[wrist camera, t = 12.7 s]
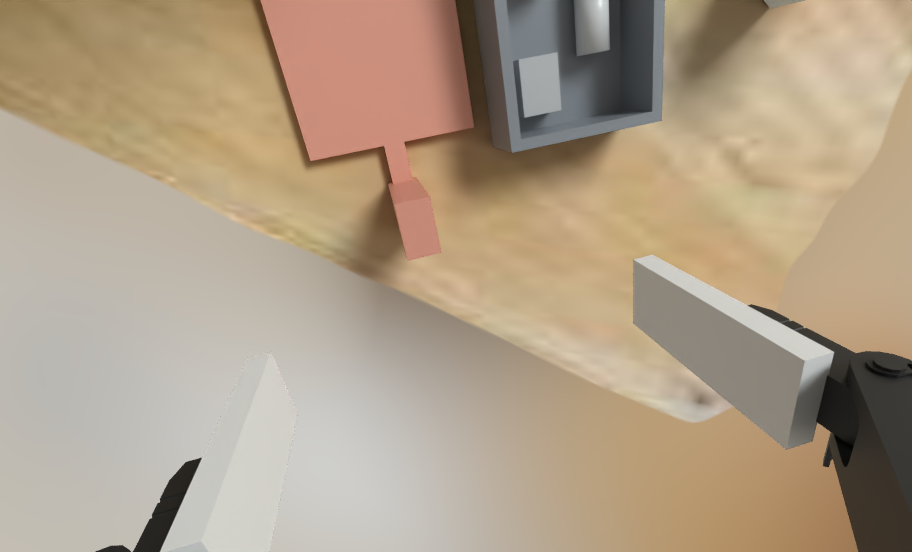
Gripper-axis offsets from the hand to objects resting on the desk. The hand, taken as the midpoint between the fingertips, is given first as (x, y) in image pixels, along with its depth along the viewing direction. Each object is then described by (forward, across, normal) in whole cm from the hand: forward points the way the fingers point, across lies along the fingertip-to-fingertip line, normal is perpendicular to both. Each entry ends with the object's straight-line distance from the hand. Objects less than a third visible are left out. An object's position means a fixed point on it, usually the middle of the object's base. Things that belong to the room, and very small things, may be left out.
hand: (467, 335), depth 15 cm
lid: (+23, 0, +11) cm, 25 cm away
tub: (+23, +14, +12) cm, 29 cm away
